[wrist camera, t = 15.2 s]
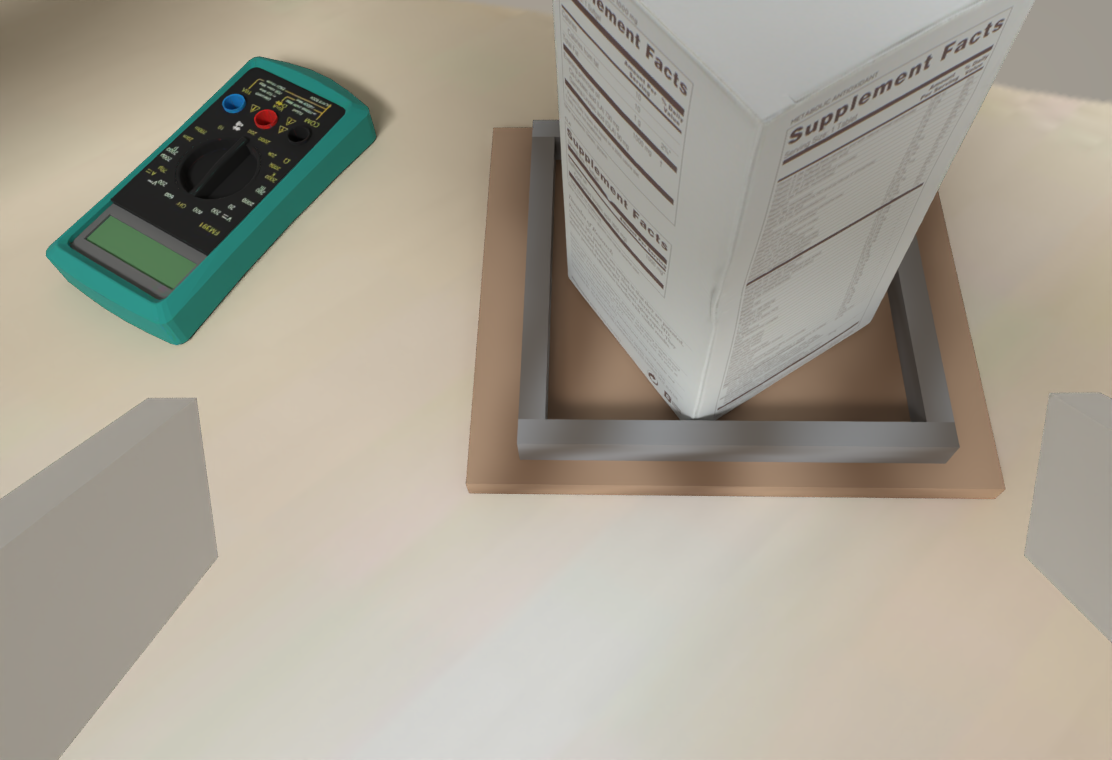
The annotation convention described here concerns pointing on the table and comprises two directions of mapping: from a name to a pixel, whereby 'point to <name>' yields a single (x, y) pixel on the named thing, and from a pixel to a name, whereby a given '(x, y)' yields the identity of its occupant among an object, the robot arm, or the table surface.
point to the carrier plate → (741, 434)
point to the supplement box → (757, 170)
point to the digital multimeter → (213, 197)
